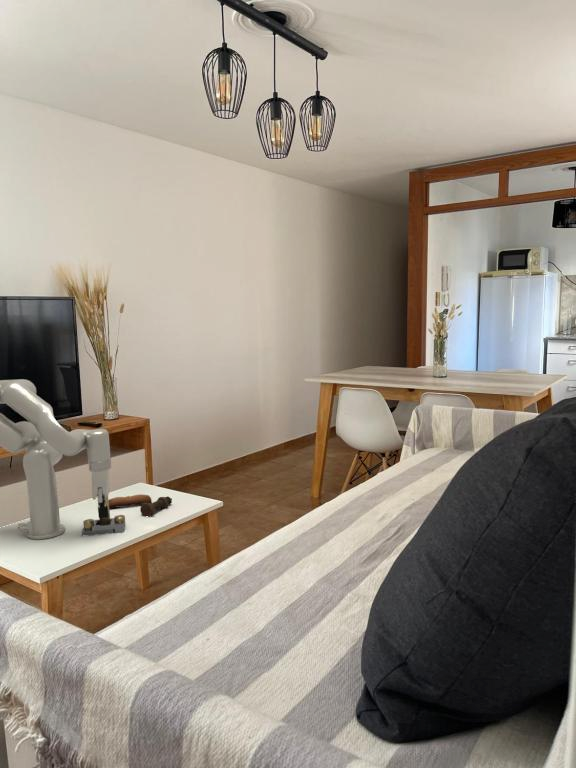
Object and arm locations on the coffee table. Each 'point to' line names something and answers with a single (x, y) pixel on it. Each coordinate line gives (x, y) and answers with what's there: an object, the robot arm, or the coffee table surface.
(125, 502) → the sunglasses case
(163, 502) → the bolt
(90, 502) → the coffee table surface
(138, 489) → the coffee table surface
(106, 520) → the link pin
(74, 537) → the coffee table surface
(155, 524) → the coffee table surface
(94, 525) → the brass knob on bracket
